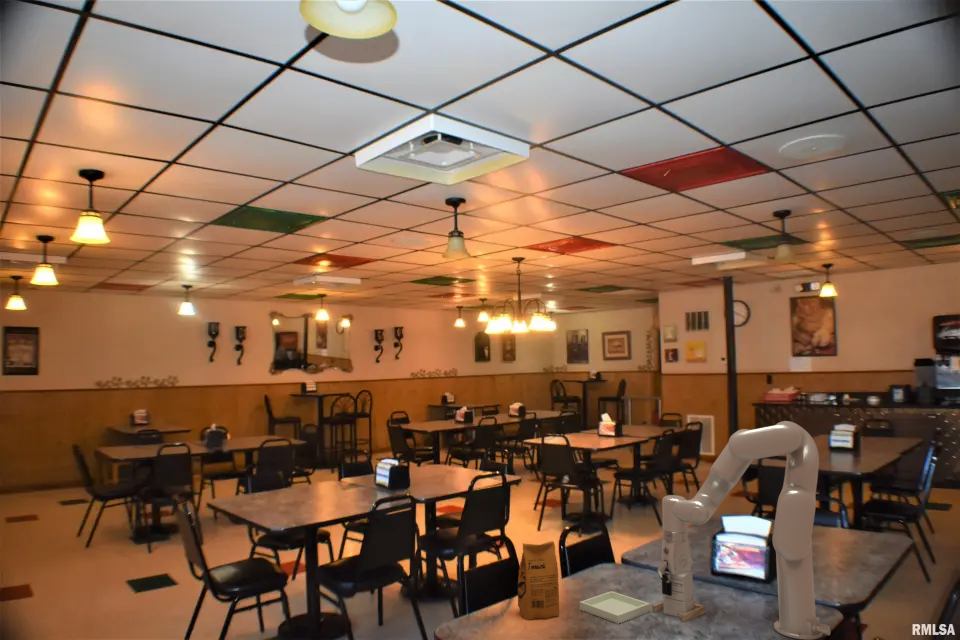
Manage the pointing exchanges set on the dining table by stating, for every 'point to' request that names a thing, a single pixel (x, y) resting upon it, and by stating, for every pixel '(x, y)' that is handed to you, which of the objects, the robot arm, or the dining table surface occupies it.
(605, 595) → the tray
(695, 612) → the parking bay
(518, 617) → the dining table surface
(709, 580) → the dining table surface
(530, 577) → the coffee package
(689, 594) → the supplement box
